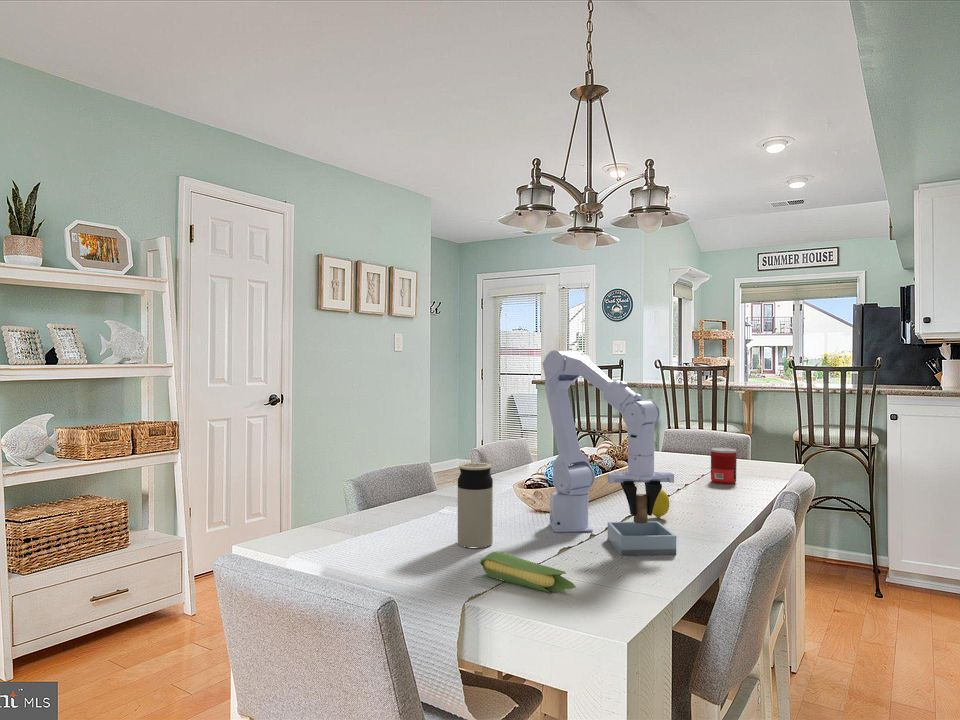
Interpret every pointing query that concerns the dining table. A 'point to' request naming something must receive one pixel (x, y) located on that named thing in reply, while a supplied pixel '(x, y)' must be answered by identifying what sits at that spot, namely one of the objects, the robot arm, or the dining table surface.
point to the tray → (641, 538)
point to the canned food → (723, 465)
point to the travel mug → (475, 505)
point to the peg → (641, 508)
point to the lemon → (661, 504)
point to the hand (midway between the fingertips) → (640, 514)
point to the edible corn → (524, 572)
